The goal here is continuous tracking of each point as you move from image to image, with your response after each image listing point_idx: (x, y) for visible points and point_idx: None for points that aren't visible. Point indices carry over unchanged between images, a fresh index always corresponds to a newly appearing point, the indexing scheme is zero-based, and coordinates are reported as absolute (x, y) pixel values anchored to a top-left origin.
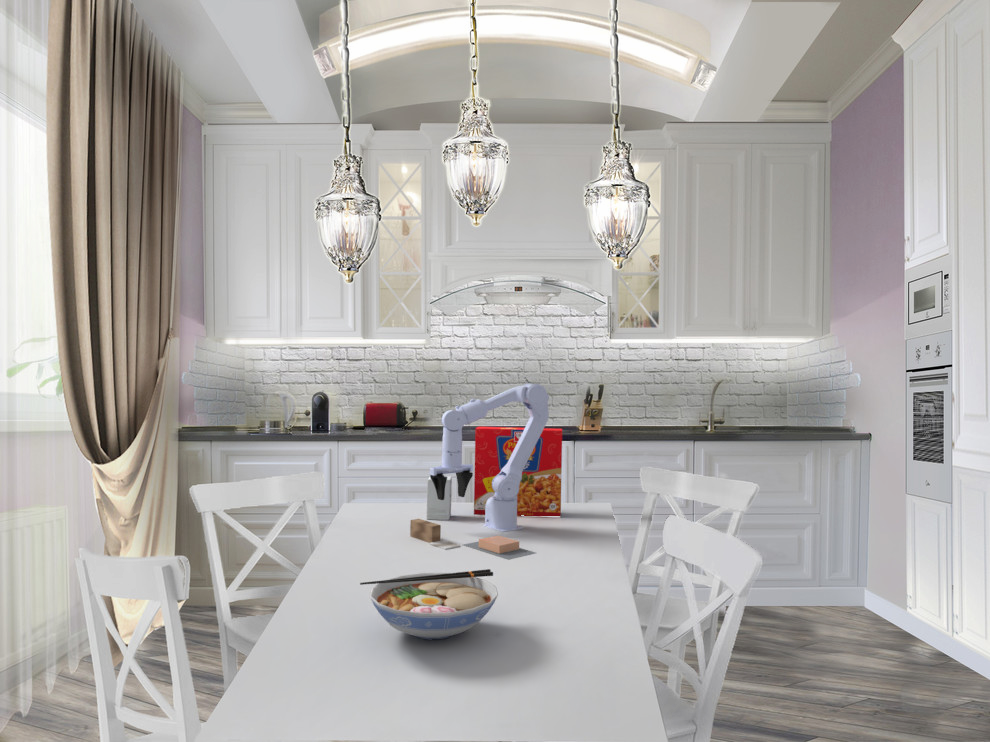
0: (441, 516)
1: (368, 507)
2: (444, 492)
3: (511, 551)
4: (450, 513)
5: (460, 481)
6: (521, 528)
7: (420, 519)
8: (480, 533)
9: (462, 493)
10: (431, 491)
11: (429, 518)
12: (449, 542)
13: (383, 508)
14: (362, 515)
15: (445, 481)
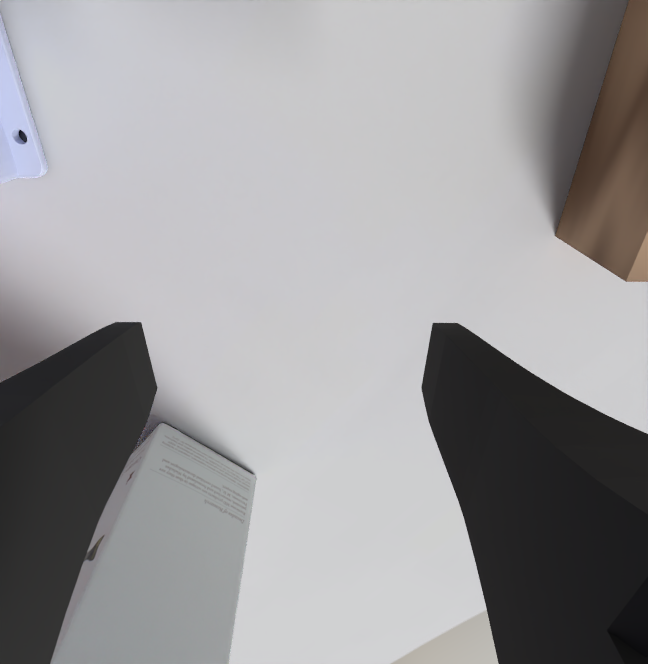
0: (193, 453)
1: (319, 659)
2: (474, 360)
3: None
4: None
5: (53, 529)
6: None
7: (645, 251)
8: (166, 7)
9: (124, 353)
10: (210, 620)
11: (245, 473)
12: None
13: (286, 639)
14: (414, 608)
15: (612, 469)
